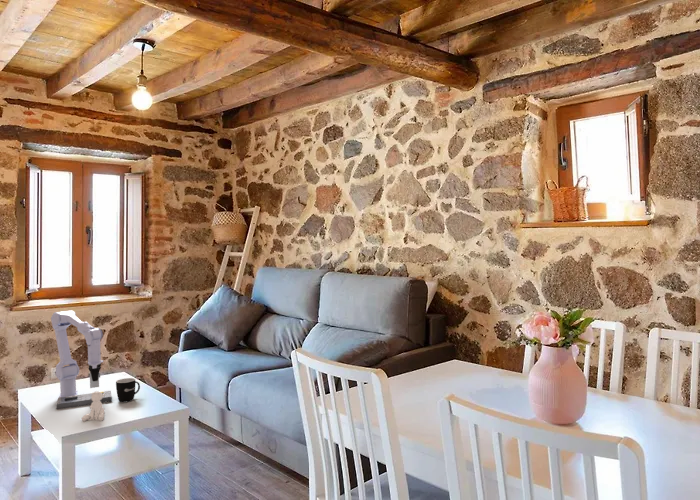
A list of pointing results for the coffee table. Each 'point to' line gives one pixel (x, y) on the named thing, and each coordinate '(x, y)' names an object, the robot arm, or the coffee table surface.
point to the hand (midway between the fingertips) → (95, 379)
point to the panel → (81, 400)
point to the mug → (126, 389)
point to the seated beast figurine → (95, 408)
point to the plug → (94, 382)
